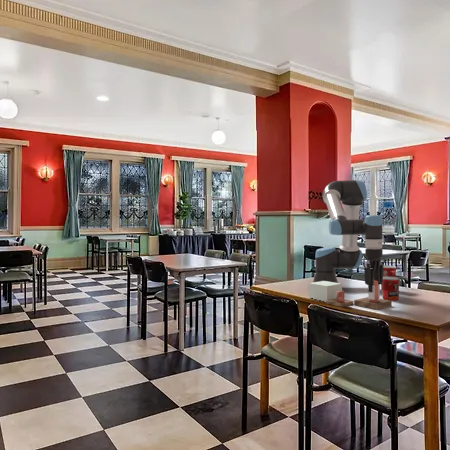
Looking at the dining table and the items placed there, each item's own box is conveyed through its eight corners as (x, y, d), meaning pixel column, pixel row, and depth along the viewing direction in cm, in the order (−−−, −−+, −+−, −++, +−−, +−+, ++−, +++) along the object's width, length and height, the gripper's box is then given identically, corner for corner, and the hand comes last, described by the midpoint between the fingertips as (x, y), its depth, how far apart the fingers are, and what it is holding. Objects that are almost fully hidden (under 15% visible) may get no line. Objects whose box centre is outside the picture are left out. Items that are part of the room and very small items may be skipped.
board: (326, 303, 193) (326, 290, 193) (338, 301, 199) (338, 288, 199) (341, 306, 186) (341, 293, 186) (353, 304, 191) (353, 290, 191)
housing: (309, 298, 206) (309, 283, 206) (324, 295, 213) (324, 280, 212) (327, 302, 196) (326, 286, 196) (342, 299, 203) (341, 283, 203)
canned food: (389, 301, 197) (389, 279, 197) (379, 298, 205) (379, 276, 205) (402, 300, 199) (402, 278, 199) (391, 297, 207) (391, 276, 207)
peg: (368, 306, 186) (368, 280, 185) (372, 305, 188) (372, 280, 187) (375, 307, 183) (375, 281, 182) (379, 306, 185) (379, 281, 185)
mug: (377, 289, 231) (377, 265, 231) (392, 288, 231) (392, 265, 230) (385, 293, 218) (385, 268, 218) (402, 293, 218) (402, 268, 218)
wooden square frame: (354, 305, 189) (354, 299, 189) (369, 301, 196) (369, 296, 196) (376, 309, 180) (376, 304, 180) (391, 306, 187) (391, 300, 187)
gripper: (370, 249, 177) (370, 302, 177) (391, 247, 186) (391, 297, 187) (356, 248, 183) (356, 299, 183) (376, 247, 193) (376, 295, 193)
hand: (374, 298), depth 185 cm, fingers closed on peg, 3 cm apart
